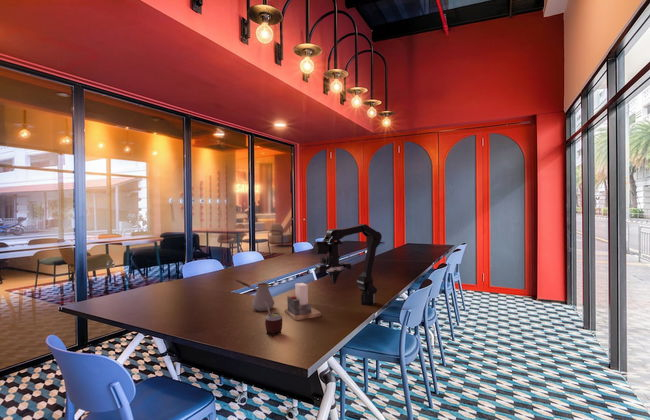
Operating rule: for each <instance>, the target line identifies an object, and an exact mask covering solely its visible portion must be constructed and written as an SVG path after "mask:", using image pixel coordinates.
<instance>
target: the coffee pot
mask: <svg viewBox="0 0 650 420" xmlns="http://www.w3.org/2000/svg"><path fill="white" fill-rule="evenodd" d="M236 283H239V284H241V285H243V286H246V287H248V288H251V289H253V290H255V291H256V293H255V295H254V297H253V300H252V303H251V306H252V308H253V309H254V310H255V311H258V312H265V311H268V308H267V306H266V304H265V303H264V302H266V303H267V304H268V306H269V310H271V309H272V308H273V307H274V305H275V301H274V298H273V296H272V295H271V292H270V290H269V286H270V283H268V282H261V283H260V282H259V283H256V286H257V288H256V287H253V286H251V285H250V284H248V283H247V282H243V281H241V280H238V279H235V281H234V284H236ZM263 301H264V302H263Z"/></svg>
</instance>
